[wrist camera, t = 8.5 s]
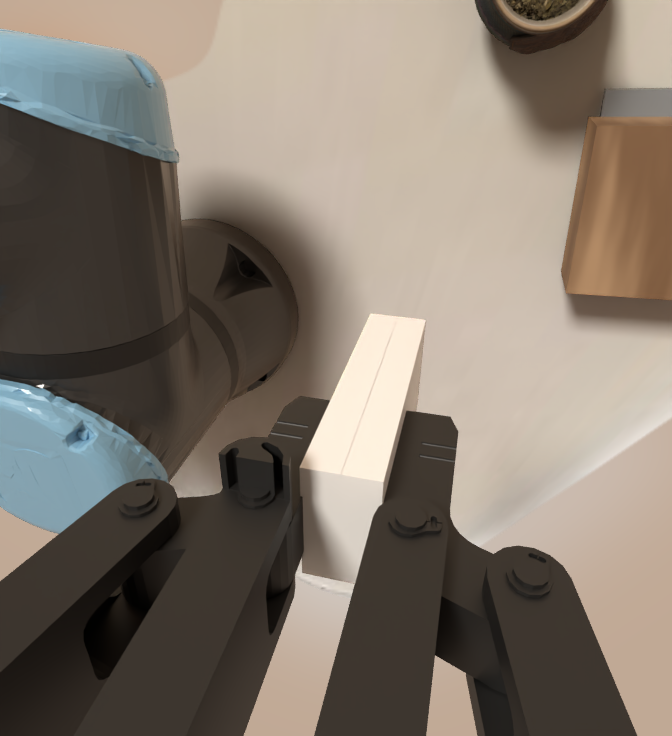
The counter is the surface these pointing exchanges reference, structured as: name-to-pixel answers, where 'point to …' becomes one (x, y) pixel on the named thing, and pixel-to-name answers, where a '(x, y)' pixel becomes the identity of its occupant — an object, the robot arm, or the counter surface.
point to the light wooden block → (622, 211)
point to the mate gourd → (537, 21)
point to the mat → (637, 102)
